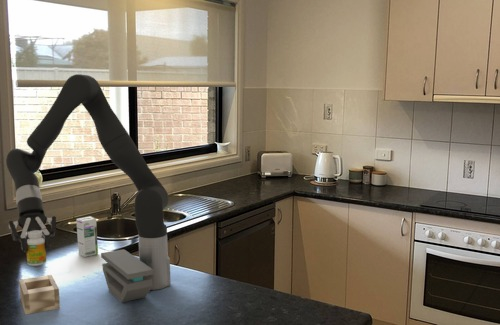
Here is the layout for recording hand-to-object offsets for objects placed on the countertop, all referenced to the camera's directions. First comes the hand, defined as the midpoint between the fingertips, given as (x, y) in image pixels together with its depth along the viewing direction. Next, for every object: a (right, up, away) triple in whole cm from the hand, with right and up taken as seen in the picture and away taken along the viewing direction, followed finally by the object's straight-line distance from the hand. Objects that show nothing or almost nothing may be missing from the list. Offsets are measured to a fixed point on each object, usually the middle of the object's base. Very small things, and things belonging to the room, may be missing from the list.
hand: (36, 249), depth 165 cm
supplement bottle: (-1, -5, +2) cm, 5 cm away
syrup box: (0, -10, +53) cm, 54 cm away
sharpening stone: (+24, -16, +11) cm, 31 cm away
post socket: (-1, -17, +4) cm, 17 cm away
